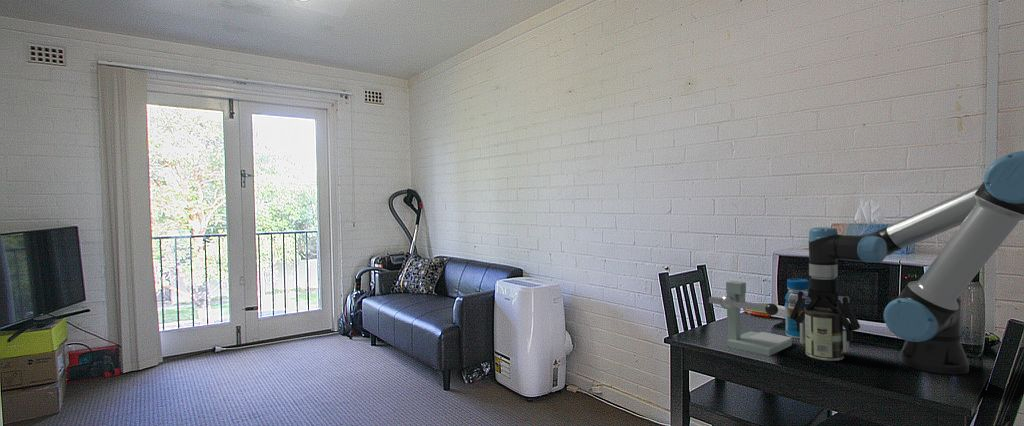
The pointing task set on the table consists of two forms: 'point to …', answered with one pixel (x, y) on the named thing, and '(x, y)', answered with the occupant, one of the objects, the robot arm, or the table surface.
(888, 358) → the table surface
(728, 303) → the lever
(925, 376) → the table surface
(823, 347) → the coffee can
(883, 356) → the table surface
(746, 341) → the stand
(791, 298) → the beverage bottle
